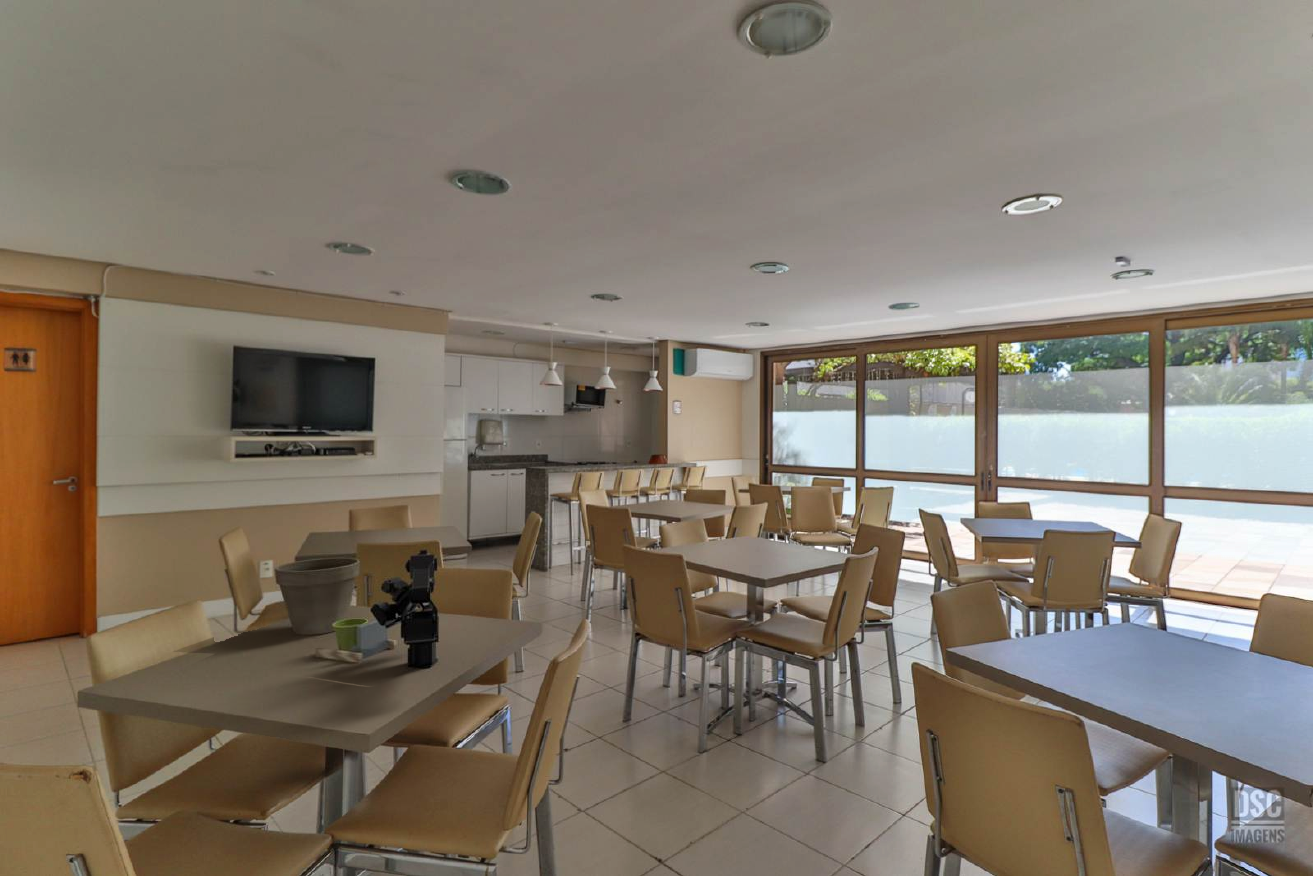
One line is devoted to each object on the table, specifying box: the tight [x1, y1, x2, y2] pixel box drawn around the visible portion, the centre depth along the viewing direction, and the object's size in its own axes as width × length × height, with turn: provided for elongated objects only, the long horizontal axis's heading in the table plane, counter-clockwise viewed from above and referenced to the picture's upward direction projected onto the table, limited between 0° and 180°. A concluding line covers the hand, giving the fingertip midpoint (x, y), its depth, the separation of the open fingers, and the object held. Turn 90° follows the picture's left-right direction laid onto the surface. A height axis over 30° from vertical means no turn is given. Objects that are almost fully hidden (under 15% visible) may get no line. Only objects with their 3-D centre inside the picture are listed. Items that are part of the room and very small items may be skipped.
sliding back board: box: [351, 619, 389, 660], centre depth 189 cm, size 4×10×9 cm, turn 159°
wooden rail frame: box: [315, 638, 398, 663], centre depth 190 cm, size 16×14×2 cm
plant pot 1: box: [274, 557, 361, 636], centre depth 216 cm, size 25×25×22 cm
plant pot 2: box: [333, 617, 369, 652], centre depth 191 cm, size 9×9×9 cm
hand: (386, 627), depth 187 cm, fingers closed
